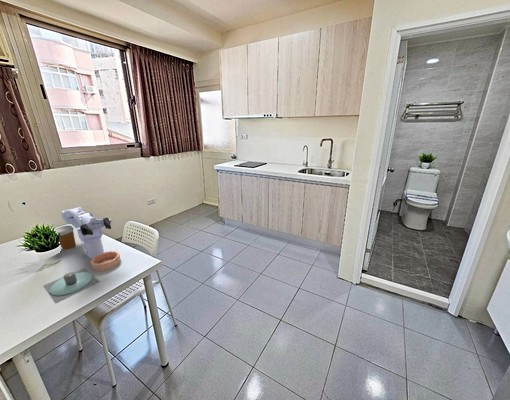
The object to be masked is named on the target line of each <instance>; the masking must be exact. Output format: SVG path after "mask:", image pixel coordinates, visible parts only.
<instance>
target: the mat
mask: <svg viewBox="0 0 510 400" xmlns="http://www.w3.org/2000/svg"><path fill="white" fill-rule="evenodd" d="M80 272H87V273H90V274H91V275H92V280H91V281H90V282H89V284H87V285H86V286H85V287H83V288H82V289H80V290H78V291H76V292H73V293H70V294H67V295H62V296H55V295H52V294H51V293H50V288H51V286H52V285H53V284H54V283H55V282H57V281H58V280H60V279H62V278H63V277H64V276H62V277H60V278H58V279H56V280H54V281H51V282H47V283H46V284H44V285H43V287H44V288H45V291H46V292H47V293H48V295H49V296H50V297H51V299H52V300H53V302H54V303H55V304H58V303H60V302H62V301H64V300H66V299H69V298H70V297H72V296H74V295H76V294H79V293H80V292H82V291H84V290H87V289H88V288H91V287H93V286H95V285H96V284H98V283H101V281H100V280H99V279H98V278H96V276H95V275H94V274H92V273H91V271H89V270H88V269H87V268H86V267H84V268H81V269H79V270H77V271H74V273H80Z"/></svg>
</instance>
